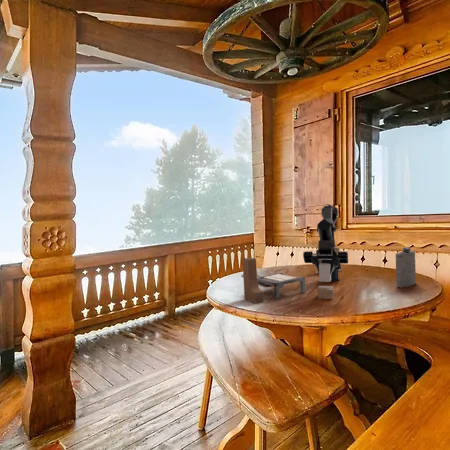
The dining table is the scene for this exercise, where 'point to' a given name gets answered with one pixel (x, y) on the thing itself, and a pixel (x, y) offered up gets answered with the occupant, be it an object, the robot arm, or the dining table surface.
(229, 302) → the dining table surface
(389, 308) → the dining table surface
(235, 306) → the dining table surface
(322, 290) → the stand
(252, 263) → the wooden block
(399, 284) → the flask
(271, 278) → the trapdoor
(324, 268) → the gray rectangular block
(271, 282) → the frame
